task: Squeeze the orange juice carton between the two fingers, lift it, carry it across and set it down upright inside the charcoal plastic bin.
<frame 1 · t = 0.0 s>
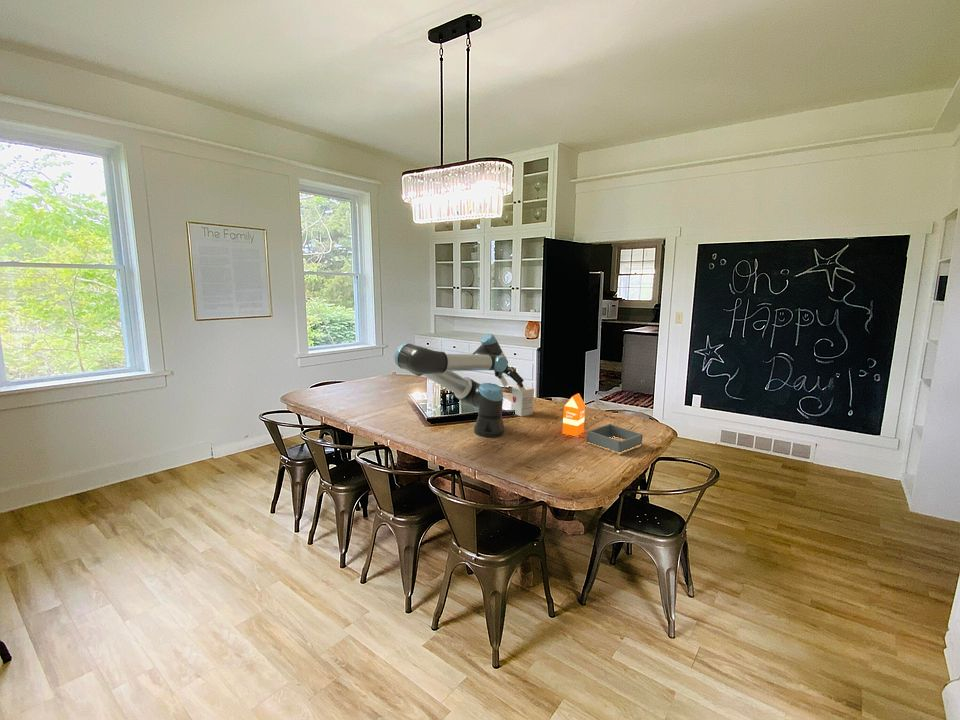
hand: (514, 388, 248), 15 cm above the table, tool tilted 35°, fingers open, 13 cm apart
supplement box: (521, 413, 254), on the table
orange juice: (572, 434, 224), on the table
bin: (613, 444, 211), on the table
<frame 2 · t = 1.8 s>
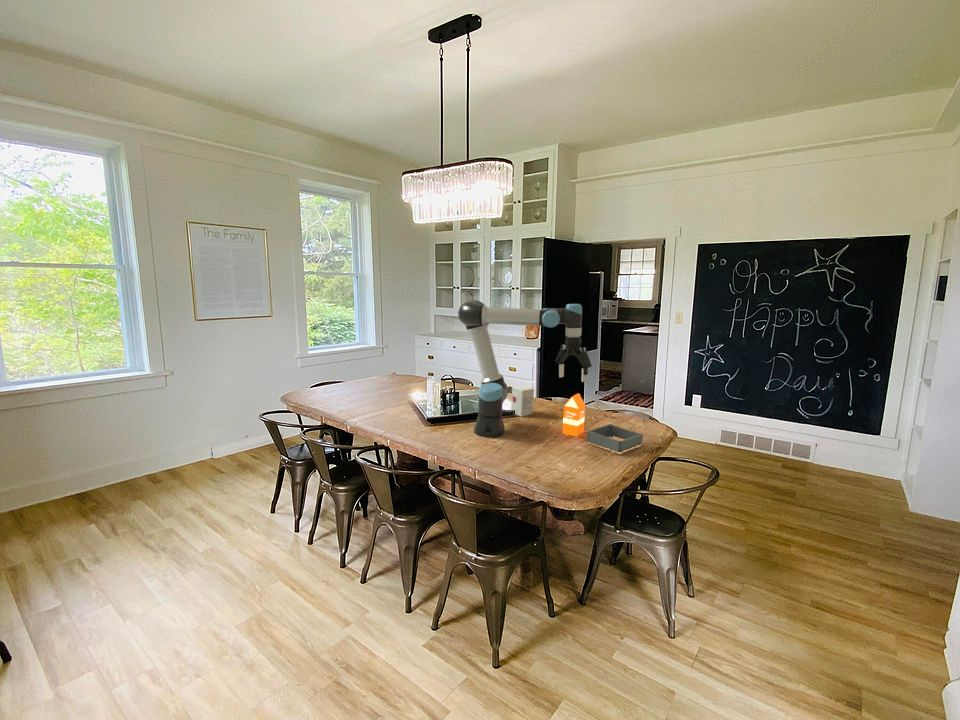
hand: (572, 379, 222), 27 cm above the table, tool pointing down, fingers open, 13 cm apart
nothing on the table moved.
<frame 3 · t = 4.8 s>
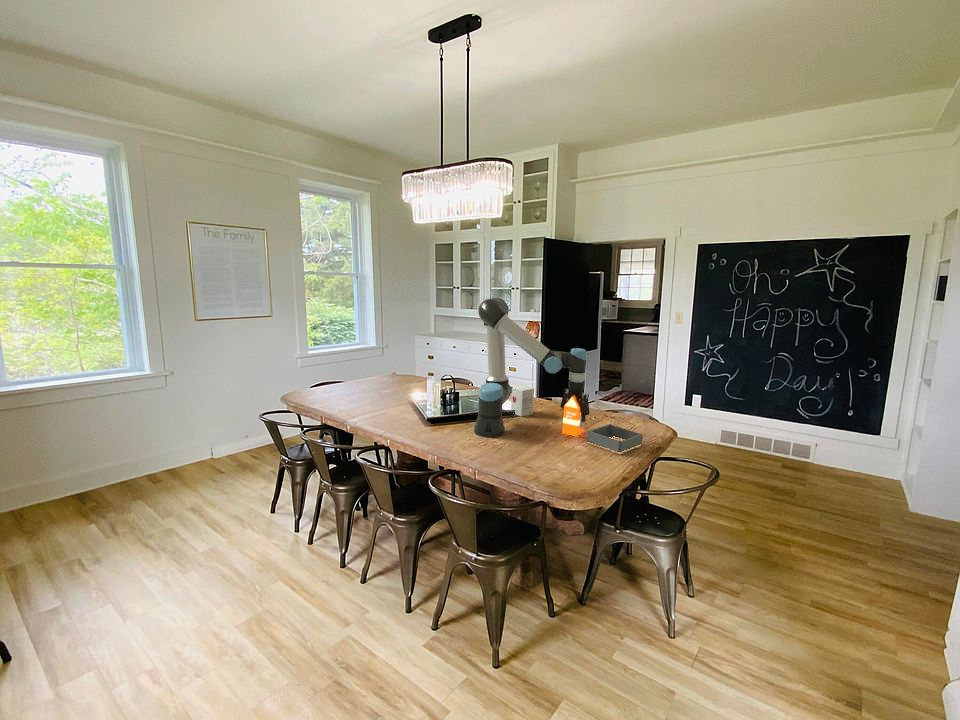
hand: (573, 425, 223), 4 cm above the table, tool pointing down, fingers closed on orange juice, 9 cm apart
orange juice: (572, 434, 224), on the table, touching gripper
everything else where it was.
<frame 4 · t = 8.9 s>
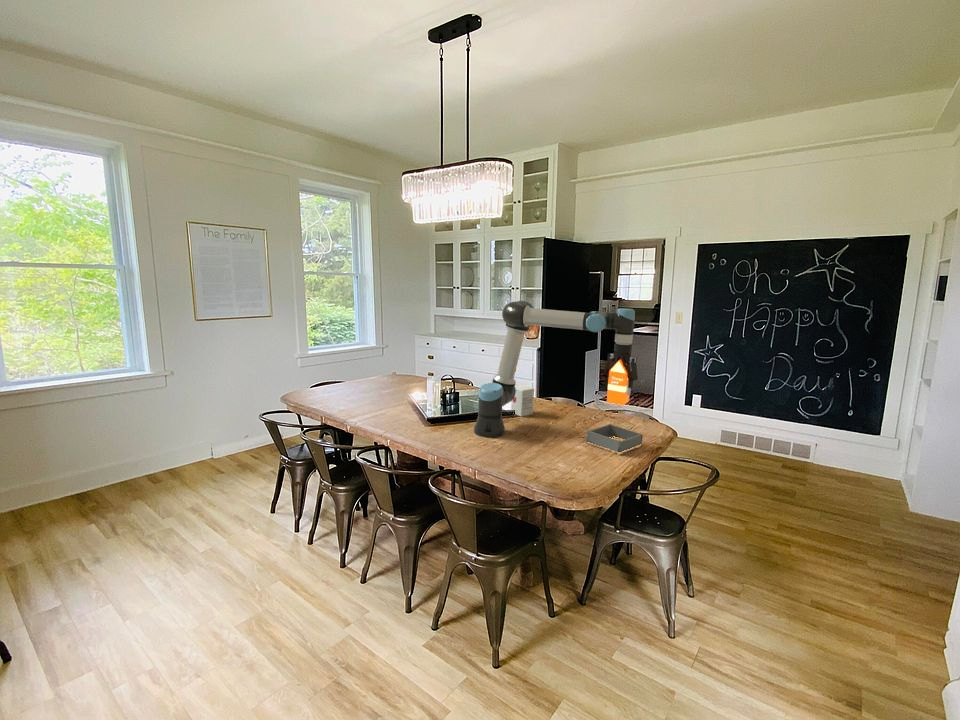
hand: (618, 392, 206), 25 cm above the table, tool pointing down, fingers closed on orange juice, 9 cm apart
orange juice: (617, 402, 207), point 21 cm above the table, touching gripper
everything else where it was.
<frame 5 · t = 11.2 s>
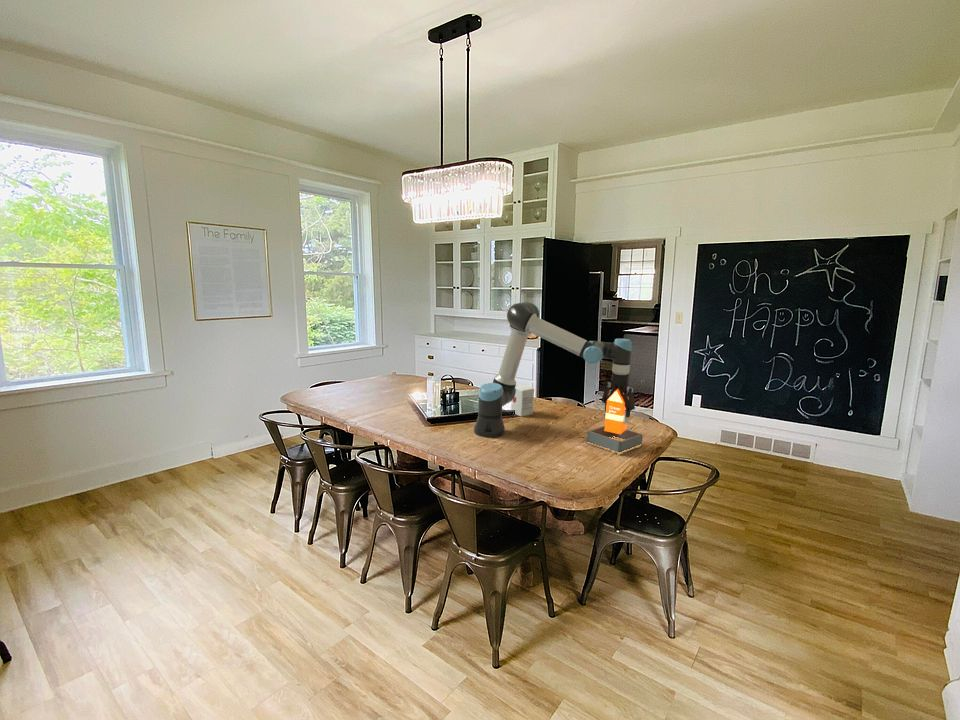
hand: (616, 420, 208), 12 cm above the table, tool pointing down, fingers closed on orange juice, 9 cm apart
orange juice: (615, 430, 209), point 7 cm above the table, touching gripper
everything else where it was.
when the fingers open (7 cm above the table, at t = 13.2 s): orange juice drops 1 cm, resting on bin.
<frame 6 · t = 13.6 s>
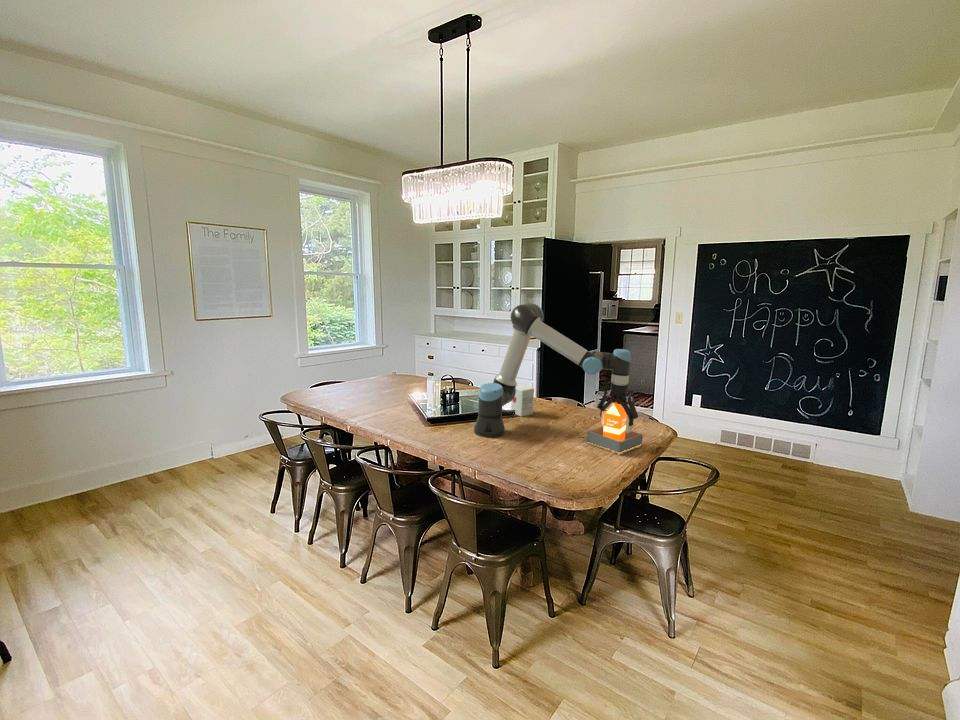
hand: (615, 428, 209), 8 cm above the table, tool pointing down, fingers open, 13 cm apart
orange juice: (613, 443, 211), point 1 cm above the table, touching bin
everything else where it was.
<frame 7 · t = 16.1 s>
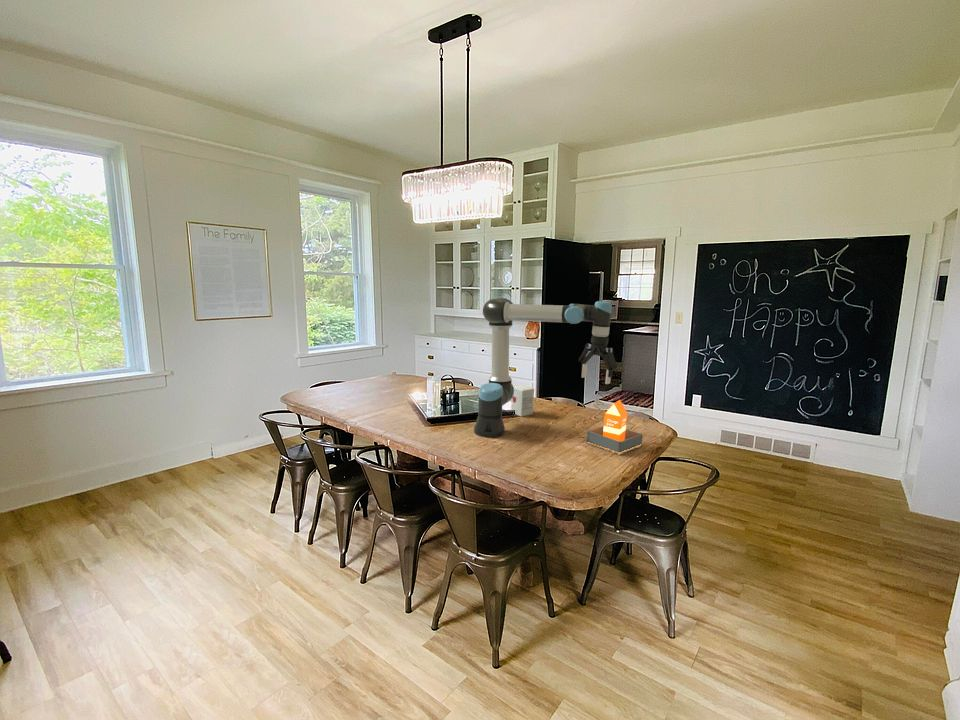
hand: (595, 380, 212), 29 cm above the table, tool pointing down, fingers open, 13 cm apart
nothing on the table moved.
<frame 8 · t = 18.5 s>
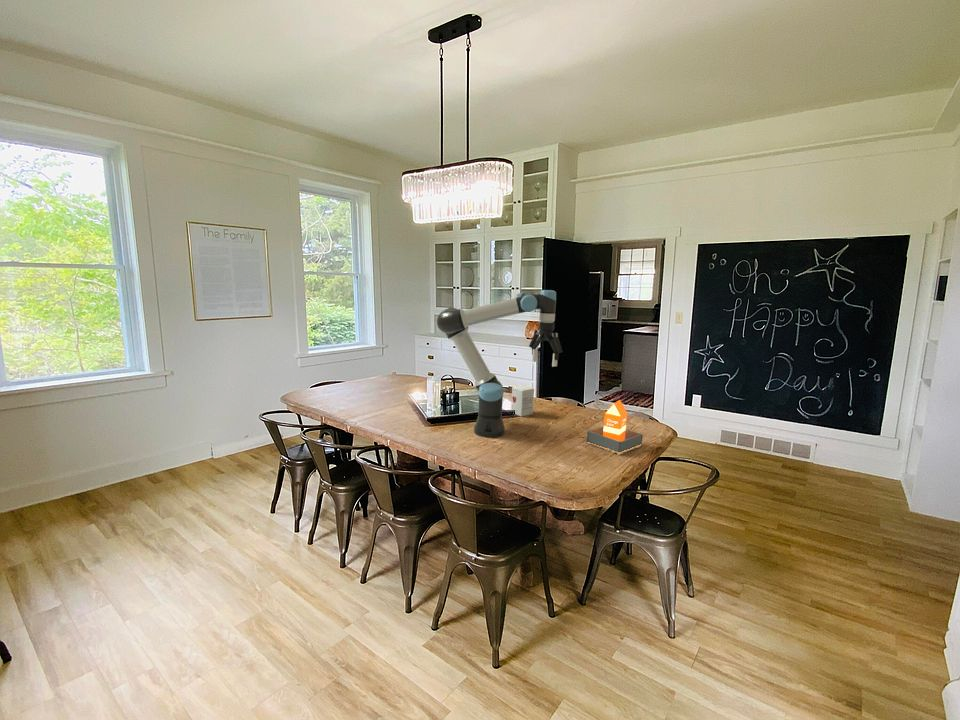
hand: (544, 364, 228), 33 cm above the table, tool pointing down, fingers open, 13 cm apart
nothing on the table moved.
at the end: orange juice inside the target area on the bin (0.4 cm from its centre), point 0.8 cm above the bin's base; orange juice tilted 0°; orange juice touching bin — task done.
